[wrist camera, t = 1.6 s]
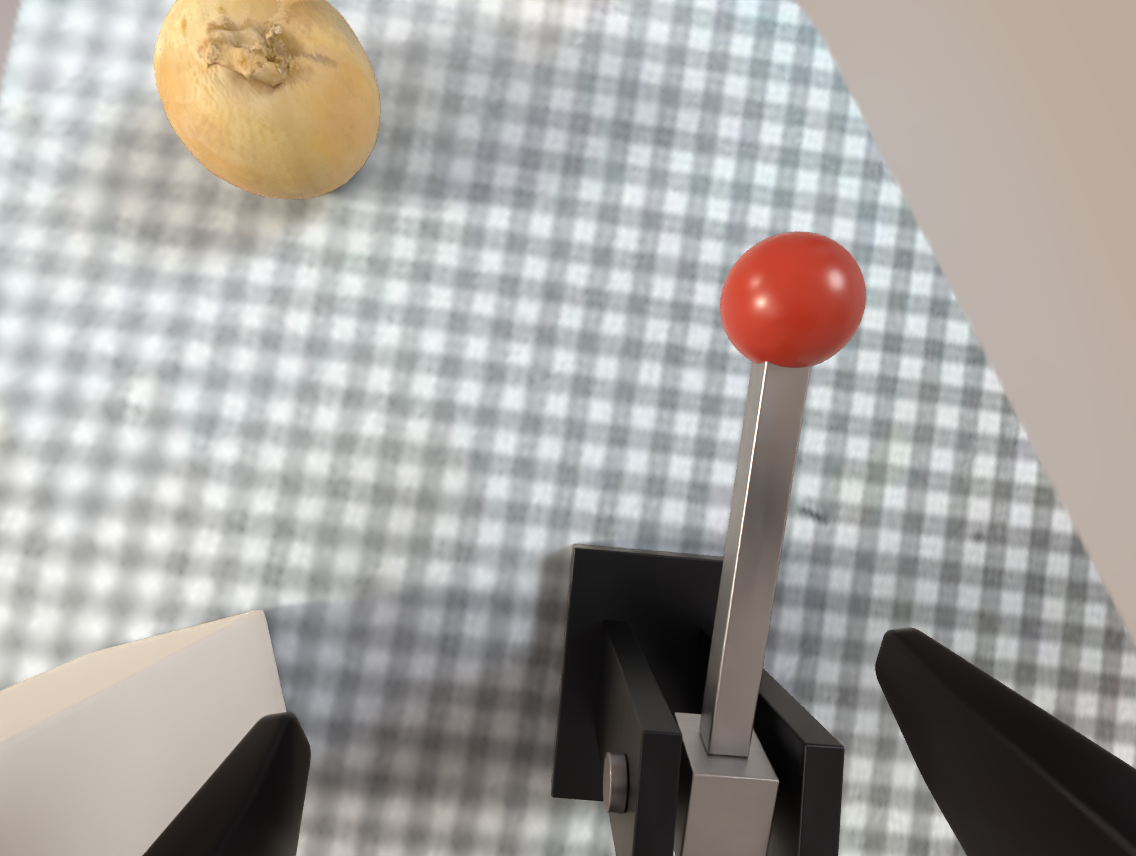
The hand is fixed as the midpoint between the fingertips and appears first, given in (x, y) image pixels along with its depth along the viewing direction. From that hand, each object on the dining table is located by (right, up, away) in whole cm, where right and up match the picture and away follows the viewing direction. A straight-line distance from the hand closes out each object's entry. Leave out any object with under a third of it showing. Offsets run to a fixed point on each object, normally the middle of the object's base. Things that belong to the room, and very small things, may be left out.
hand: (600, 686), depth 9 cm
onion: (-12, +17, +17) cm, 27 cm away
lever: (+4, +1, +7) cm, 9 cm away
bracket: (+3, -6, +16) cm, 17 cm away
